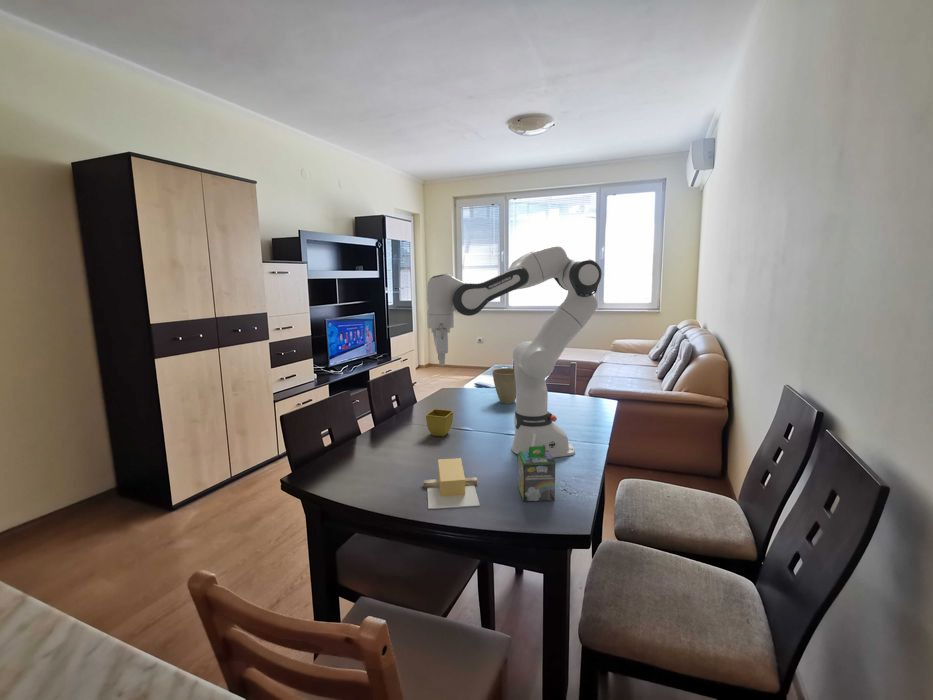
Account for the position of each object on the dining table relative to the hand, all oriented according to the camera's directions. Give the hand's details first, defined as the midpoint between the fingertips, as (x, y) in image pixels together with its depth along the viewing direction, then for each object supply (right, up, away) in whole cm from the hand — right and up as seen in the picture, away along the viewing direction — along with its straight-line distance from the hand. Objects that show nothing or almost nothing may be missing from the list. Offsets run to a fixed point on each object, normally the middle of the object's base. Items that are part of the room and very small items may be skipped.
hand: (441, 362), depth 153 cm
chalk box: (+29, -37, -25) cm, 53 cm away
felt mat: (+5, -38, -26) cm, 46 cm away
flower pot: (-2, -30, +26) cm, 39 cm away
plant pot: (+29, -22, +73) cm, 81 cm away
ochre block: (+3, -31, -16) cm, 35 cm away
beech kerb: (+4, -36, -19) cm, 41 cm away
